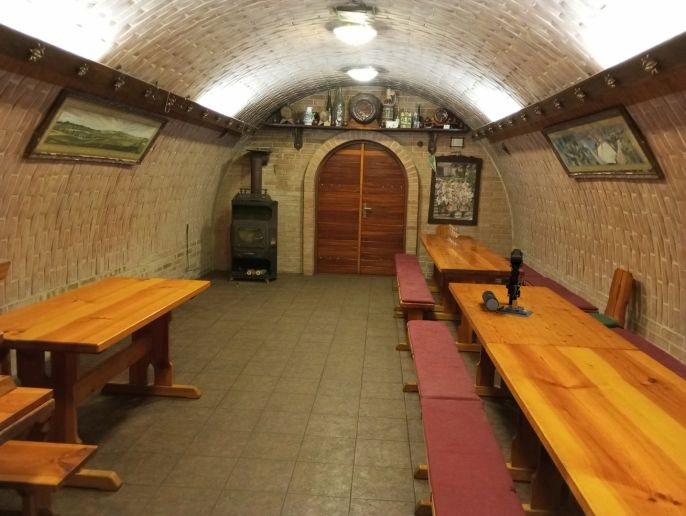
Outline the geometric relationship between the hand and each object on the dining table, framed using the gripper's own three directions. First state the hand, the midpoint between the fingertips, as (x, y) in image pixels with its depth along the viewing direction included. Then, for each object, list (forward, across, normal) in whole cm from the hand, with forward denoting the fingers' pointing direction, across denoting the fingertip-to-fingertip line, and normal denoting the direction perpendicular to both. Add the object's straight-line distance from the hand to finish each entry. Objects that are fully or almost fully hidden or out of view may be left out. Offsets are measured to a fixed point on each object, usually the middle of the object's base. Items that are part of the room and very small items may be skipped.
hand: (513, 297), depth 382 cm
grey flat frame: (+11, -6, 0) cm, 12 cm away
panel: (+12, -6, 0) cm, 14 cm away
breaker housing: (+11, -6, +1) cm, 13 cm away
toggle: (+10, -6, 0) cm, 12 cm away
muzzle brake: (+12, -8, -18) cm, 23 cm away
